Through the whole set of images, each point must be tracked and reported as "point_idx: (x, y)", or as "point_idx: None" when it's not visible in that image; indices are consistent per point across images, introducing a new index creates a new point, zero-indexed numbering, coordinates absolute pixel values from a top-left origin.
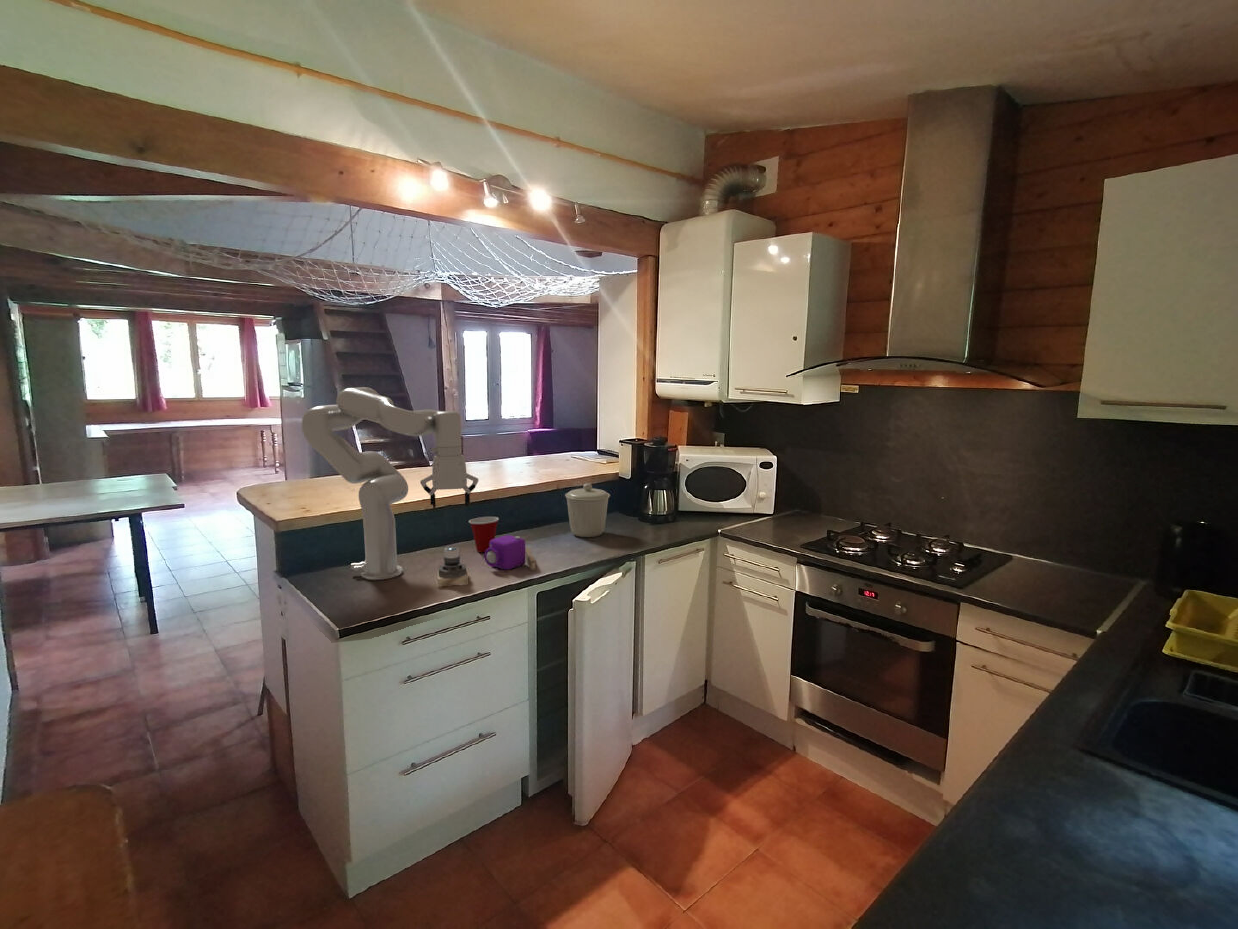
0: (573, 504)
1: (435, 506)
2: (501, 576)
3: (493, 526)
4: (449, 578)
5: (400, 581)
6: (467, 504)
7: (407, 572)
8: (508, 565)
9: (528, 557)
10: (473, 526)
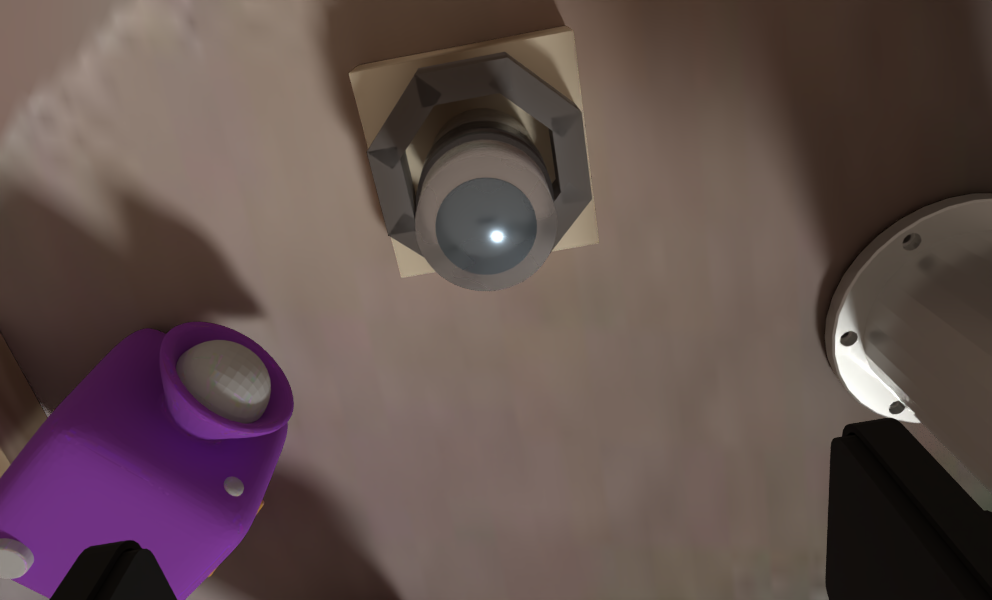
0: None
1: (846, 450)
2: (162, 222)
3: None
4: (486, 48)
5: (829, 167)
6: (74, 572)
7: (791, 327)
8: (126, 337)
9: (6, 438)
10: None
